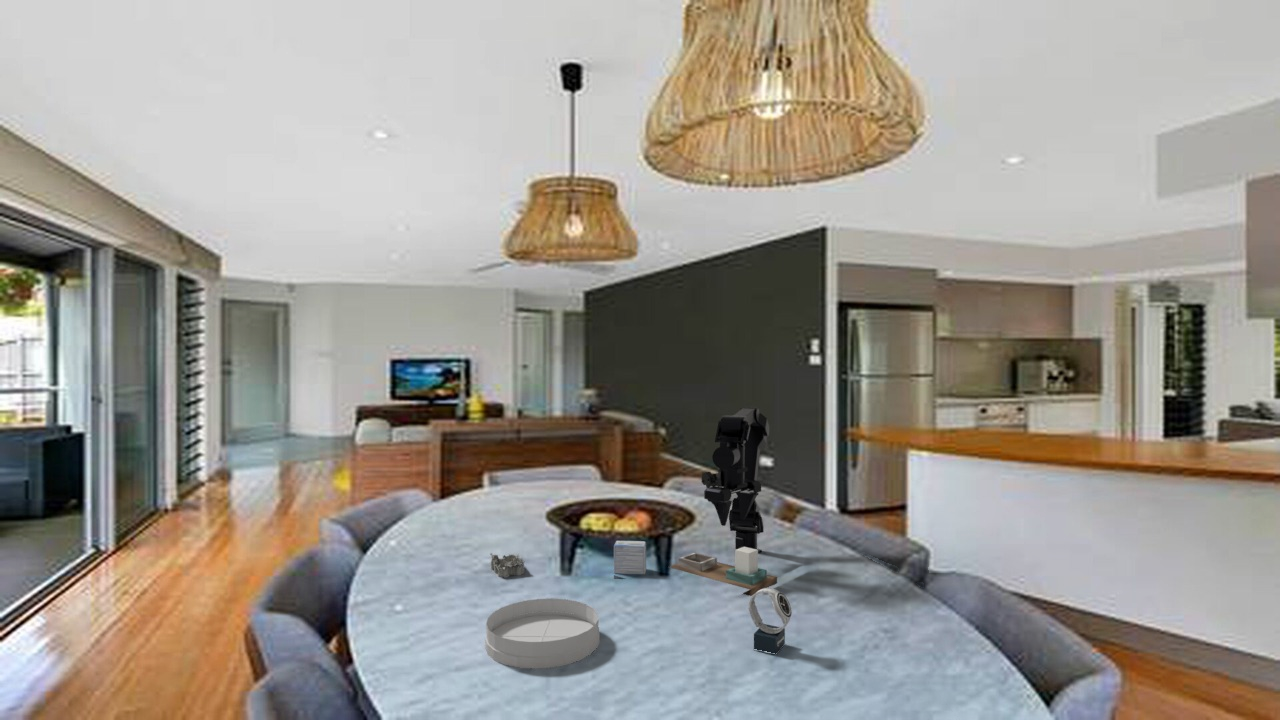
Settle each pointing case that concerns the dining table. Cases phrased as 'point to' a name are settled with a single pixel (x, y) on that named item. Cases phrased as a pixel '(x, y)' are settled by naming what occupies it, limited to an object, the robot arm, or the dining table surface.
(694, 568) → the socket board
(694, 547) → the dining table surface
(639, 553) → the medicine box
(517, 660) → the dish
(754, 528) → the robot arm
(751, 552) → the plug
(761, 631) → the watch
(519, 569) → the toy castle
